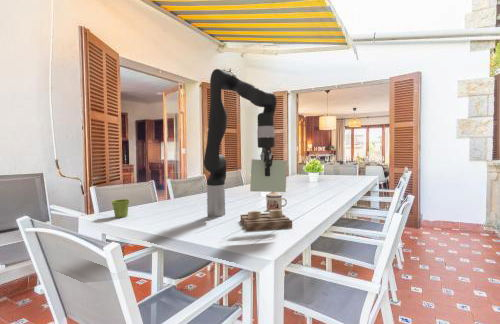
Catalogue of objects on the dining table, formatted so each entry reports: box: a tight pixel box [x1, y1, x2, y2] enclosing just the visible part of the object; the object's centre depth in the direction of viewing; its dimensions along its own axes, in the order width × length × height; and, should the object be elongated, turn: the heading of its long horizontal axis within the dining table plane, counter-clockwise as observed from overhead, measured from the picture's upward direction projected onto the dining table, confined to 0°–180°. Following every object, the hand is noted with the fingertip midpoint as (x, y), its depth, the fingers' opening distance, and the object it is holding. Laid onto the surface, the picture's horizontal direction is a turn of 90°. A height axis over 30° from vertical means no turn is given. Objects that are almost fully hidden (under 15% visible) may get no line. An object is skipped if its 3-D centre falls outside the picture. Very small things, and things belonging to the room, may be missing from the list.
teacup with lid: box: [265, 192, 288, 212], centre depth 171 cm, size 12×9×12 cm
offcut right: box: [268, 210, 283, 218], centre depth 137 cm, size 6×2×6 cm, turn 101°
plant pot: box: [110, 198, 131, 219], centre depth 161 cm, size 9×9×9 cm
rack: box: [240, 212, 293, 232], centre depth 136 cm, size 20×18×4 cm
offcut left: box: [247, 210, 262, 219], centre depth 135 cm, size 6×2×6 cm, turn 101°
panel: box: [249, 159, 288, 193], centre depth 133 cm, size 16×1×14 cm, turn 102°
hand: (267, 175), depth 133 cm, fingers closed on panel, 1 cm apart
